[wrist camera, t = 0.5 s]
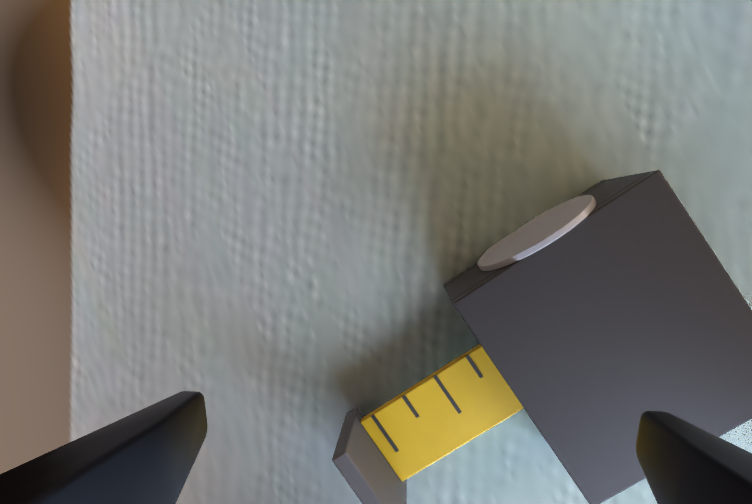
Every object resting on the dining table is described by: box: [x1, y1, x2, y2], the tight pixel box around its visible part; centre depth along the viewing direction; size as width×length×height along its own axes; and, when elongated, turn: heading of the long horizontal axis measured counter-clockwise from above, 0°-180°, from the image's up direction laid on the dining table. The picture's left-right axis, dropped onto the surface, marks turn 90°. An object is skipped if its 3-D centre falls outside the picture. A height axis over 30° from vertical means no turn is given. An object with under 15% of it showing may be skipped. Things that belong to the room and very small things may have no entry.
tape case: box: [443, 170, 752, 504], centre depth 20 cm, size 10×11×6 cm
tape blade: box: [332, 344, 524, 504], centre depth 21 cm, size 10×5×5 cm, turn 125°
